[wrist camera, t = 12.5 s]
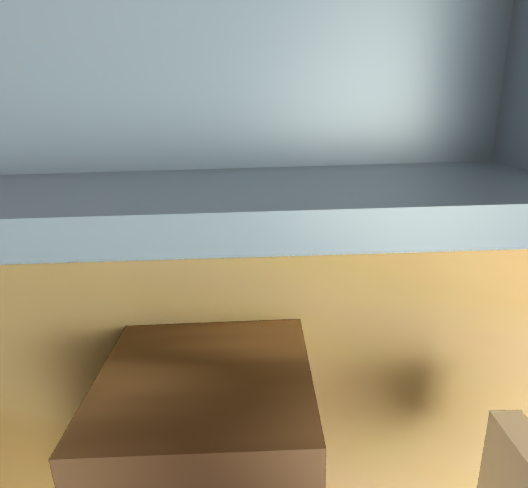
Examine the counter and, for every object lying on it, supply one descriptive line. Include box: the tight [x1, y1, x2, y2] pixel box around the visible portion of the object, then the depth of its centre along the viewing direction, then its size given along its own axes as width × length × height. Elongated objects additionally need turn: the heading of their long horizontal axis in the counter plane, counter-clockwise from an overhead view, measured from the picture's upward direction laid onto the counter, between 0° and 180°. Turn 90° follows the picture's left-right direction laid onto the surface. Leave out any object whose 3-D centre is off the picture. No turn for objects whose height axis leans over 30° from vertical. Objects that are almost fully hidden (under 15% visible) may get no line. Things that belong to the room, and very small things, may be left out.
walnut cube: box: [49, 319, 326, 488], centre depth 11 cm, size 5×5×5 cm
